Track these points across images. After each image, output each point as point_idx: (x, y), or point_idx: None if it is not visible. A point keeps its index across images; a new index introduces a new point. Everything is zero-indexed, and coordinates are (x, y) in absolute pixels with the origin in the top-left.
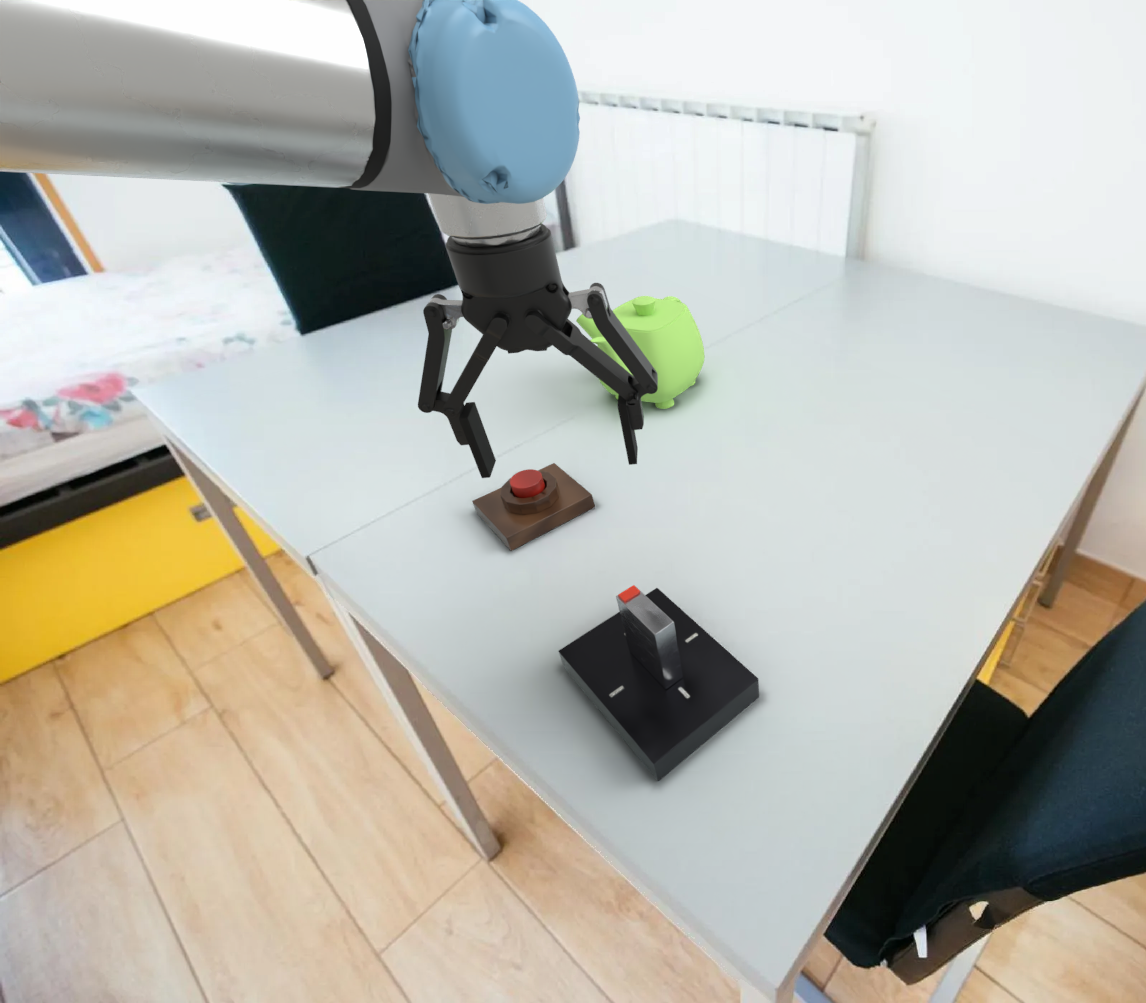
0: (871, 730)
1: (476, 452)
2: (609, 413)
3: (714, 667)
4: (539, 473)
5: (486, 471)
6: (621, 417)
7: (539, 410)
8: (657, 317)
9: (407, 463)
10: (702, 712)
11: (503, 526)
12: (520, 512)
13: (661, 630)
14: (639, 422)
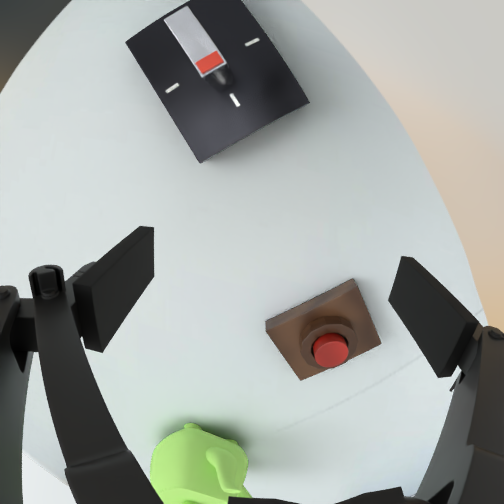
0: (74, 26)
1: (431, 279)
2: (244, 429)
3: (158, 54)
4: (317, 359)
5: (408, 260)
6: (104, 270)
7: (305, 440)
8: (178, 496)
9: (414, 395)
10: None
11: (358, 303)
12: (341, 318)
13: (179, 10)
14: (87, 269)
